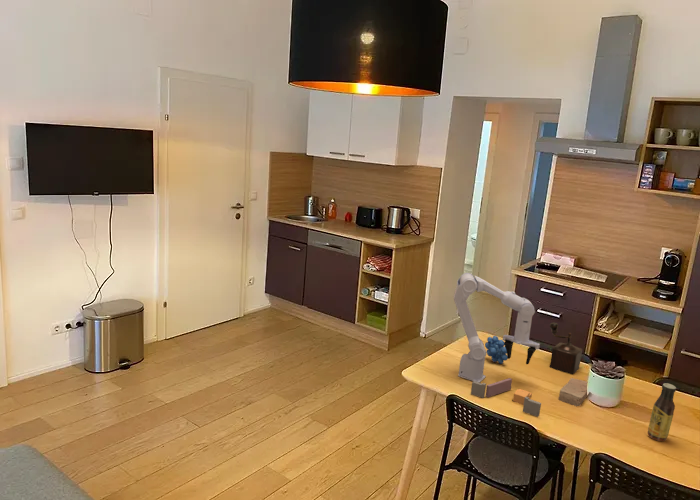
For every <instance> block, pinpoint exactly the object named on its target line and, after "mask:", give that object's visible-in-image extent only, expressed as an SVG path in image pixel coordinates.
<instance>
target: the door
mask: <svg viewBox="0 0 700 500" xmlns="http://www.w3.org/2000/svg"><path fill="white" fill-rule="evenodd" d="M512 383H513V378H511V377H509V378H506V379H502V380H499V381H495V382H492V383H490V384H486V389H485V397H486V398H491V397H493V396H497V395H499V394H502V393H505V392H507V391H511V390H512Z"/></svg>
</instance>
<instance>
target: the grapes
mask: <svg viewBox="0 0 700 500" xmlns="http://www.w3.org/2000/svg"><path fill="white" fill-rule="evenodd" d="M486 340H487V341H486V342H485V343H484V348H486V356H488V357H491V361H492V362H493V363H498V364H499V365H502V364H504V361H508V360H509V359H508V358H507V351H506V347H505V345H504V342H505V341H504V340H503V339H499V337H498V336H497V335H493V336H488V337H487V339H486Z"/></svg>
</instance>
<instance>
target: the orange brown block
mask: <svg viewBox="0 0 700 500" xmlns="http://www.w3.org/2000/svg"><path fill="white" fill-rule="evenodd" d="M532 394H533V392H530V391H527V390H524V389H520V388H517V389H516V390H515V392H514V393H513V397H512V399H513V400H512V402H514V403H517V404H520V405H524V399H525V397H529V399H531V398H532V396H533V395H532Z"/></svg>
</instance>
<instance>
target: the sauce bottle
mask: <svg viewBox="0 0 700 500" xmlns="http://www.w3.org/2000/svg"><path fill="white" fill-rule="evenodd" d="M676 391H677V387H676V386H675V385H674V384H671V383H668V382H667V383H665V382H664V383H663V384H662V386H661V392H660V395H659V396H658V398H657V399H656V401H655V402H654V403H653V406H652V407H653V408H652V411H651V415H650V418H649V419H650V420H649V423H648V427H647V436H648V437H649V438H650V439H653V440H654V441H658V442H659V441H660V442H665V441H667V440H668V437H669V433H670V430H671V426H672V422H673V417H674V412H675V407H676V405H675V403H674V397H675V396H674V395H675V392H676Z"/></svg>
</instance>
